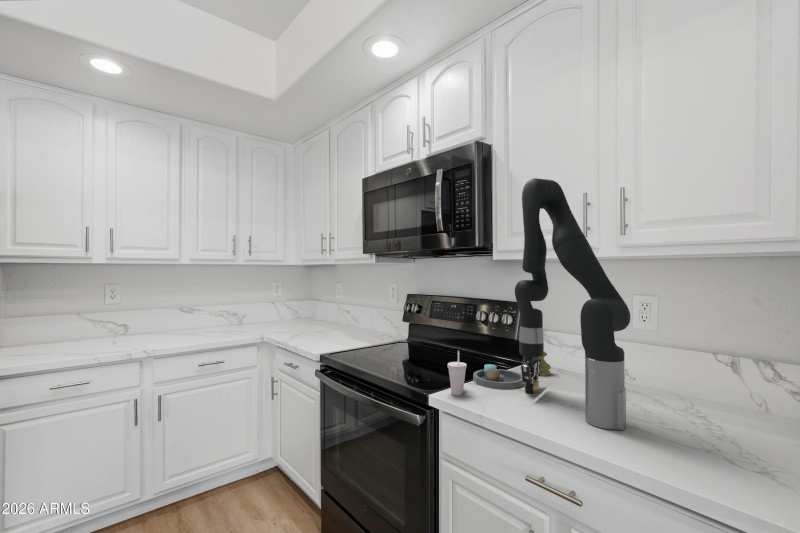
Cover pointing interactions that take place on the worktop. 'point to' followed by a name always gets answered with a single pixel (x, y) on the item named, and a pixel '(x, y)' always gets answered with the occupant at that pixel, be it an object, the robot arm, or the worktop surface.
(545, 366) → the olive chess piece
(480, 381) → the ring tray
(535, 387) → the oak bead
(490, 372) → the walnut bead
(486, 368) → the teal bead
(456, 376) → the smoothie
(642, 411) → the worktop surface
